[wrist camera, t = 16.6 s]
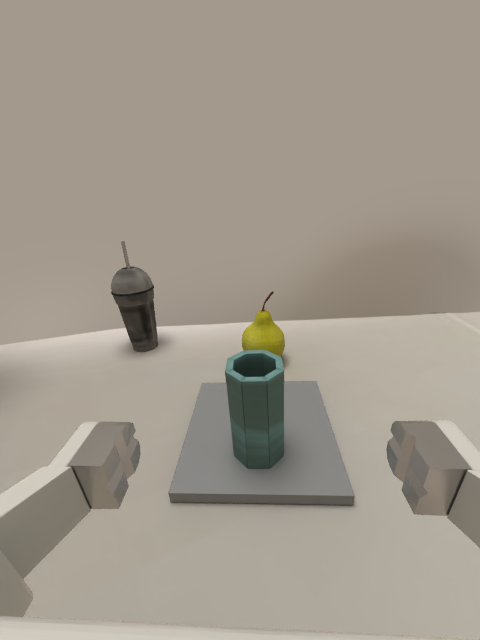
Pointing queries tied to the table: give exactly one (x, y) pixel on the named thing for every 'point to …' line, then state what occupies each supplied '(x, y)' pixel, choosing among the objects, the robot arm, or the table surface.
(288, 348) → the table surface
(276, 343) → the fruit
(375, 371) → the table surface
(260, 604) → the table surface
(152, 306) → the beverage cup
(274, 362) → the sleeve
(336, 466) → the pin board
